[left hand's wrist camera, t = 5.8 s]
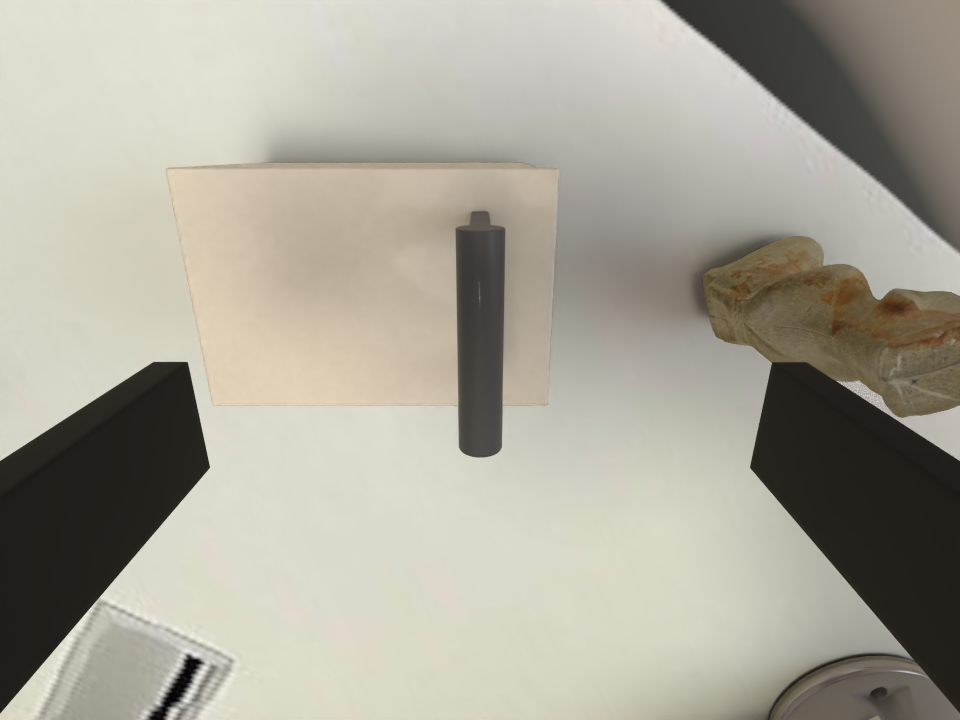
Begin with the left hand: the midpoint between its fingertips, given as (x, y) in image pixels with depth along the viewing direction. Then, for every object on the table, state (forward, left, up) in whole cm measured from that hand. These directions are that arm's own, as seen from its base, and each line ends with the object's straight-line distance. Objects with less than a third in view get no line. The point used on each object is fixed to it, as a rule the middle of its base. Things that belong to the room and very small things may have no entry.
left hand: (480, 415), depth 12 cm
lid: (+4, +3, -12) cm, 13 cm away
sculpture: (-15, -7, -22) cm, 28 cm away
